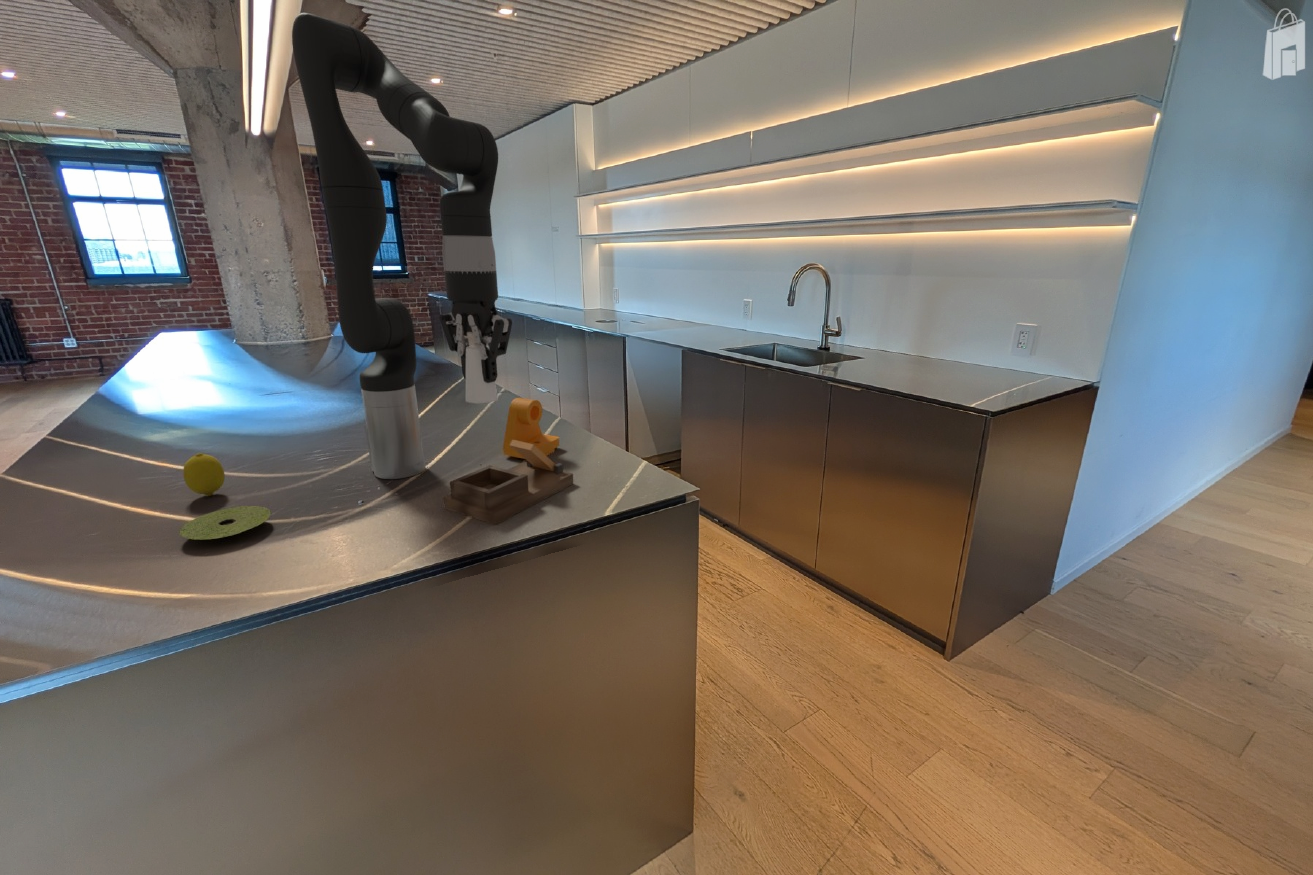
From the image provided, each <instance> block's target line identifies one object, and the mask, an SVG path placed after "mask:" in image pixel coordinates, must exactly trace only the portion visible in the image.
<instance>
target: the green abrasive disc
mask: <svg viewBox="0 0 1313 875" xmlns="http://www.w3.org/2000/svg"><path fill="white" fill-rule="evenodd" d="M271 513H272V512H271V511H270V509H269V508H267V507H264V506H258V505H242V506H240V505H239V506H234V507H229V508H227V507H226V508H225V509H218V510H216V511H212V512H209V513H205V514H204V515H199V516H198V517H195V518H193V519H191V520H189V521H188V522H186V523H185V524H184V525H183V526H182V527H181V528H180V530H179V535H180V536H181V537H183V538H185V539H191V540H200V541H201V540H213V539H220V538H225V537H230V536H231V537H232V536H234V535H237V534H241V533H242V532H246V531H248V530H250V529H253V528H255V527H258V526H259V525H262V524H263V523H264V522H265V521H266V520H268V519H269V518H270V515H272V514H271Z"/></svg>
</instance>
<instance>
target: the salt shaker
mask: <svg viewBox="0 0 1313 875" xmlns="http://www.w3.org/2000/svg"><path fill="white" fill-rule="evenodd" d="M467 336H468V342H469V344H468V342H467V344H468V345H469V346H467V347H466V379H465V403H470V404H475V405H476V404H489V403H490V404H491V403H493V402H496V401H498V400H499V397H498V396H499V395H498V391H497V386H496V385H497V384H496V381H494V382H490V383H486V382H484V380H483V374H482V364H481V360H482V357H481V353H480V349H479V346H478V345H476V343H475V340H474V336H473V332H467ZM483 338H486V336H484V337H483ZM486 346H487V350H489V346H488V345H486Z"/></svg>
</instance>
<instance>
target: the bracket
mask: <svg viewBox="0 0 1313 875" xmlns="http://www.w3.org/2000/svg"><path fill="white" fill-rule="evenodd" d="M508 407H509V408H508V413H507V414H508V415H507V420H506V426H505V432H504V437H503V438H504V439H503V446H502V450H503V453H502V454H503V455H504V456H508V457H514V458H519V459H524V460H526V459H525V458H524V457H523V456H522V455H520V454H519V453H518V452H517V451H516V450H514V449H513V448H512V447H511V446H510V443H511V442H512V440H517V441H521V442H525V443H530V444H534V445H535V446H536V447H537V448H538V449H539V450H540V451H541V452H542V453H544V454H545V455H546V456H547V457H548V456H549V455H551V454H553V453H555V452H554V451H555V449H556V448H558V447H559V446H560V437H559V436H556V435H549V434H544V433H542V430H541V427H540V421H541V420H542V416H543V406H542V403H541V401H539V400H538V399H531V398H530V399H529V398H523V397H516V398H513V400H512V401H511V403H510V405H509V406H508ZM552 452H553V453H552ZM550 453H551V454H550ZM548 454H549V455H548Z"/></svg>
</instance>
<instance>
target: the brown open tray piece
mask: <svg viewBox="0 0 1313 875" xmlns="http://www.w3.org/2000/svg"><path fill="white" fill-rule="evenodd" d="M573 484H574V474H573V473H572V472H568V471H564V463H560V462H559V463H556V465H554V471H550V470H546V469H542V468H538V467H534V466H533V465H532V464H531V463H530V462H529V461H527V460H526V461H524V462H521V463H519V464H516V465H514V466H512V467H509V468H507V469H505V468H502V467H497V466H493V465H486V466H485V467H482V468H479V469H478V470H475V471H473V472H470V473H468V474H465V475H463V476H460V477H458V478H455V479H453V480H451V481H449V487H450V494H447V495H446V496H443V497H442V500H443V508H444V509H445V510H449V511H451V512H456V513H458V514H461V515H463V516H464V515H465V516H467V517H470V518H473V519H476V520H479V521H483V522H484V523H488V524H491V525H494V526H496V525H499V524H500V523H502V522H504V521H506V520H507V519H510V518H511V517H513V516H515V515H517V514H519V513H521V512H522V511H524V510H526V509H529V508H531V507H532V506H534V505H536V504H538V503H539V502H541V501H543V500H546V499H547V498H549V497H551V496H553V495H555V494H556V493H558V492H560V491H562V490H565V489H566V488H567V487H569V486H571V485H573Z"/></svg>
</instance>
